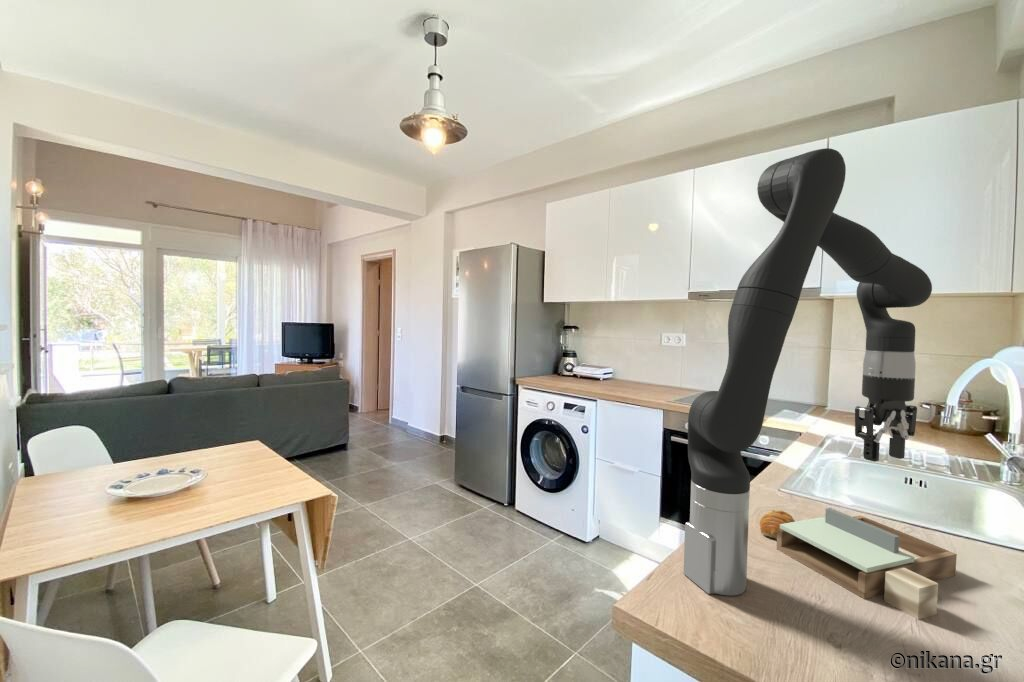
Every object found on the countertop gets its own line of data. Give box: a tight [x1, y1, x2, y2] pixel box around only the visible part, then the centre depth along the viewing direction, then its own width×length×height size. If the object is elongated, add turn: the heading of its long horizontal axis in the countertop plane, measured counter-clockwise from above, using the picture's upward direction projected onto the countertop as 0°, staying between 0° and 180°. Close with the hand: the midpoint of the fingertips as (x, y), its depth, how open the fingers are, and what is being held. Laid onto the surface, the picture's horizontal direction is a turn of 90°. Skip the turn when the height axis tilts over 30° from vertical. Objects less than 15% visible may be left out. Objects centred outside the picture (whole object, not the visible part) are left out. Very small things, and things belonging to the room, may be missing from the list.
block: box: [883, 568, 939, 620], centre depth 66 cm, size 4×4×5 cm
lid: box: [780, 507, 915, 573], centre depth 78 cm, size 12×16×4 cm
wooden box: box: [776, 515, 957, 600], centre depth 80 cm, size 24×16×4 cm, turn 107°
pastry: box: [759, 509, 796, 540], centre depth 91 cm, size 9×7×4 cm
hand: (884, 458), depth 80 cm, fingers open, 6 cm apart
